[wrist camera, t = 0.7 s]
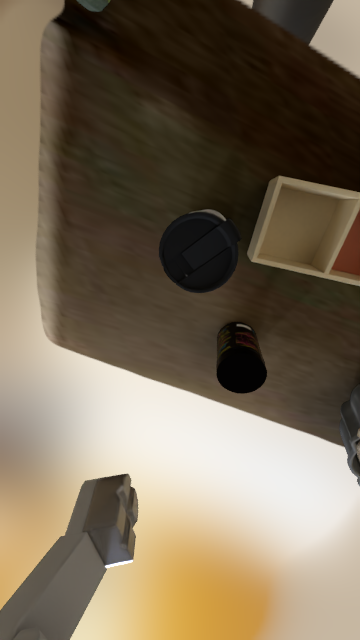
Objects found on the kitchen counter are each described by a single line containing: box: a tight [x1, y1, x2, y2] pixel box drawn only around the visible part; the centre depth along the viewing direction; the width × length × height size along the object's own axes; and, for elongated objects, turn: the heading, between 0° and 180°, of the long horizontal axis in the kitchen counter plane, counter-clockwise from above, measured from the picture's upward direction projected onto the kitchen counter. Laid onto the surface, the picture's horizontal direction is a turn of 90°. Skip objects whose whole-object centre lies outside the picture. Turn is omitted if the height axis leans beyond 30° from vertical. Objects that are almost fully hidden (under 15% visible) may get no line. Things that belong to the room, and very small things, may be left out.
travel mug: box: [159, 209, 242, 293], centre depth 27 cm, size 6×7×20 cm
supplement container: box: [217, 322, 267, 393], centre depth 38 cm, size 7×7×10 cm
